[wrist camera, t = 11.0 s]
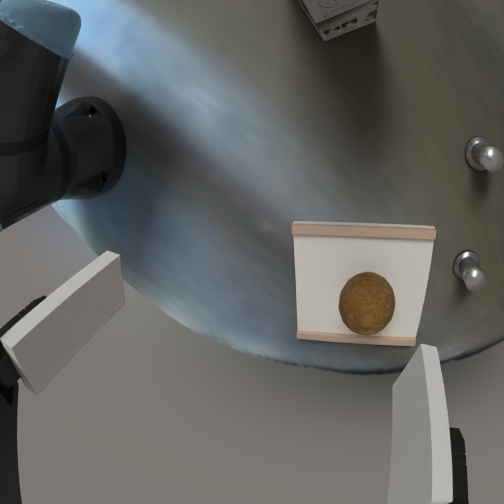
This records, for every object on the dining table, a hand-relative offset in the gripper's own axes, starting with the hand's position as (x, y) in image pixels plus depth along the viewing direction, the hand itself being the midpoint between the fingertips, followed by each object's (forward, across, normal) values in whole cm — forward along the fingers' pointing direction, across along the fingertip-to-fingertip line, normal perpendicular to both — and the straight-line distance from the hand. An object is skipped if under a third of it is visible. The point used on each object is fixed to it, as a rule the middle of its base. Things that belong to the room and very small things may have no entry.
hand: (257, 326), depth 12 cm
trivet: (+24, +8, -11) cm, 27 cm away
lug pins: (+23, +18, +2) cm, 30 cm away
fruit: (+23, +8, -10) cm, 26 cm away
